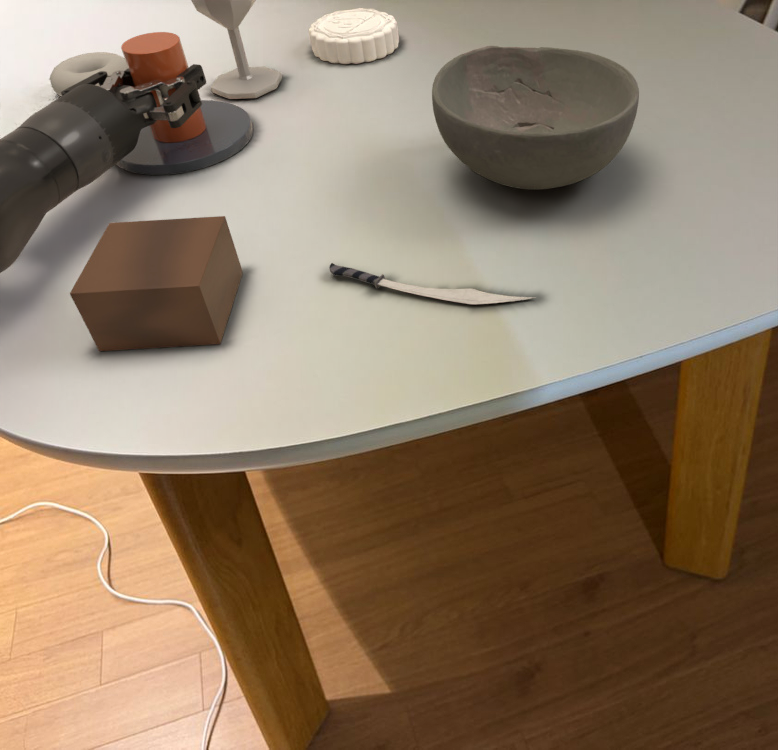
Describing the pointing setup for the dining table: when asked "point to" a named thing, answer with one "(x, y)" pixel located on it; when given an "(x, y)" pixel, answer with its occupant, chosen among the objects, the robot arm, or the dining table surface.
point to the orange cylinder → (161, 78)
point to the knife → (445, 294)
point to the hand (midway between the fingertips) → (175, 70)
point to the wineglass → (237, 52)
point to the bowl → (534, 113)
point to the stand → (159, 284)
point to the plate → (193, 143)
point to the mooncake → (354, 36)
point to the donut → (84, 69)
